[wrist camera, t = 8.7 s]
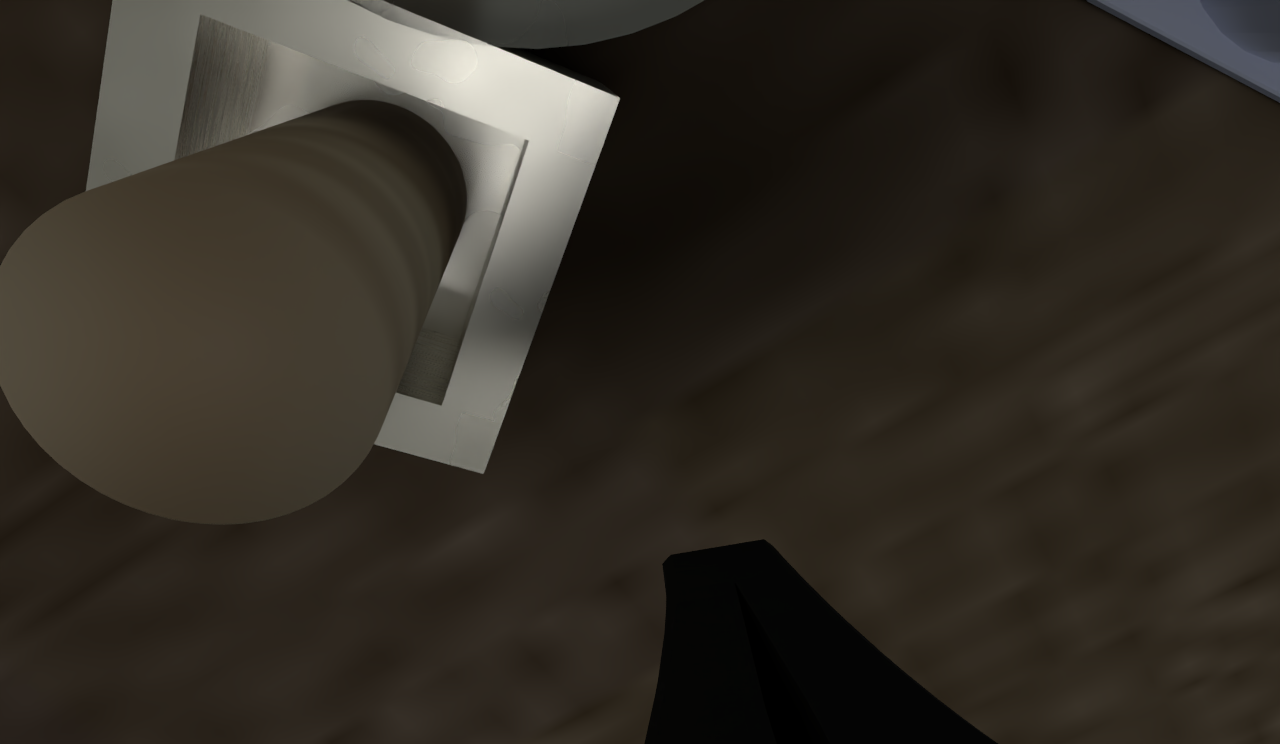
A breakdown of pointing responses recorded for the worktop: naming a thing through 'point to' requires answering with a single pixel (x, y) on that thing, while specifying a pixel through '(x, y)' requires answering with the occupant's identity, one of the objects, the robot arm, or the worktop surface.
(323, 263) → the key peg
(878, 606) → the worktop surface
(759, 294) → the worktop surface
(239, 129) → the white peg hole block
